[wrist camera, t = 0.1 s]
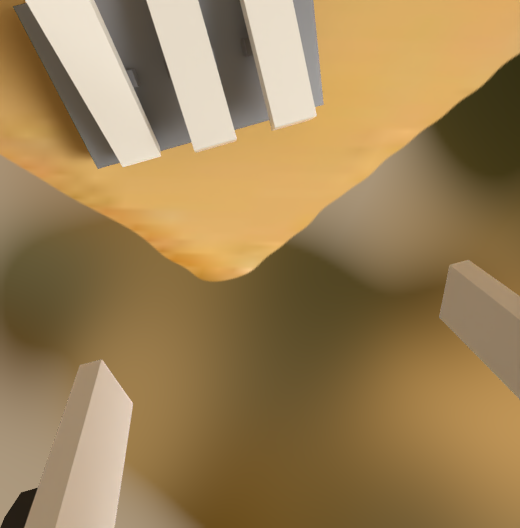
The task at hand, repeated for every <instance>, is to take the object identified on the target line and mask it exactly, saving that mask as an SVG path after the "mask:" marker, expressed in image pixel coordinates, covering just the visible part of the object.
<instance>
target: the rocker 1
mask: <svg viewBox="0 0 520 528" xmlns="http://www.w3.org/2000/svg"><path fill="white" fill-rule="evenodd" d="M25 1H26V3H27V4H28V6H29V8H30V9H31V11H32V13H33V15H34V16H35V18H36V20H37V21H38V23H39V25H40V27H41V28H42V30H43V32H44V33H45V35H46V37H47V39H48V40H49V42H50V44H51V45H52V47H53V49H54V50H55V52H56V54H57V56H58V57H59V59H60V61H61V62H62V64H63V66H64V68H65V69H66V71H67V73H68V74H69V76H70V78H71V80H72V81H73V83H74V85H75V86H76V88H77V90H78V91H79V93H80V95H81V97H82V98H83V100H84V102H85V103H86V105H87V107H88V109H89V110H90V112H91V114H92V115H93V117H94V119H95V121H96V122H97V124H98V126H99V127H100V129H101V131H102V132H103V134H104V136H105V138H106V139H107V141H108V143H109V144H110V146H111V148H112V150H113V151H114V153H115V155H116V156H117V158H118V160H119V161H120V163H121V165H122V167H125V166H129V165H132V164H136V163H139V162H143V161H146V160H150V159H153V158H157V157H160V156H161V153H160V146H159V144H158V142H157V139H156V137H155V135H154V133H153V130H152V128H151V126H150V124H149V121H148V119H147V117H146V115H145V113H144V110H143V108H142V106H141V104H140V101H139V99H138V97H137V95H136V92H135V90H134V88H133V86H132V84H131V81H130V79H129V77H128V75H127V72H126V70H125V68H124V66H123V63H122V61H121V59H120V57H119V55H118V52H117V50H116V48H115V46H114V43H113V41H112V39H111V37H110V34H109V32H108V30H107V28H106V26H105V23H104V21H103V19H102V17H101V14H100V12H99V10H98V8H97V5H96V3H95V1H94V0H25Z"/></svg>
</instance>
